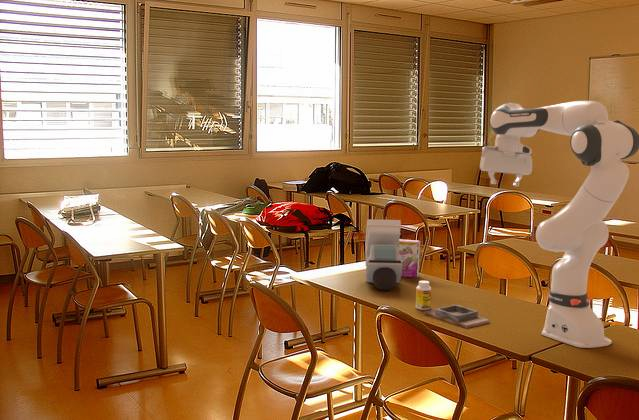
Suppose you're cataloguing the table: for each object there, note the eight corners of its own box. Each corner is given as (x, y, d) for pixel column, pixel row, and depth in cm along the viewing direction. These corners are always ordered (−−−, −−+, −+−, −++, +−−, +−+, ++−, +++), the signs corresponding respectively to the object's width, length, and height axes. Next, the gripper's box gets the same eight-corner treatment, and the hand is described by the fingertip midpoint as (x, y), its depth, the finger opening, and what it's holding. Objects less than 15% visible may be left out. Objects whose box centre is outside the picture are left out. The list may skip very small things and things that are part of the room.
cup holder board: (489, 322, 238) (490, 314, 238) (466, 328, 231) (466, 319, 231) (447, 309, 254) (447, 301, 254) (424, 314, 247) (424, 306, 247)
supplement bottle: (422, 311, 251) (423, 284, 250) (412, 307, 255) (413, 281, 254) (433, 309, 254) (434, 282, 253) (423, 305, 259) (424, 279, 257)
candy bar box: (392, 276, 306) (393, 240, 304) (394, 274, 311) (395, 238, 308) (417, 278, 303) (418, 242, 301) (418, 275, 308) (420, 240, 306)
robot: (400, 307, 287) (396, 251, 307) (404, 276, 271) (400, 220, 291) (365, 306, 287) (364, 251, 307) (368, 275, 271) (366, 219, 291)
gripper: (486, 144, 246) (484, 182, 245) (535, 149, 252) (533, 187, 251) (477, 145, 252) (475, 183, 252) (525, 151, 258) (523, 187, 257)
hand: (504, 185), depth 251 cm, fingers open, 8 cm apart
